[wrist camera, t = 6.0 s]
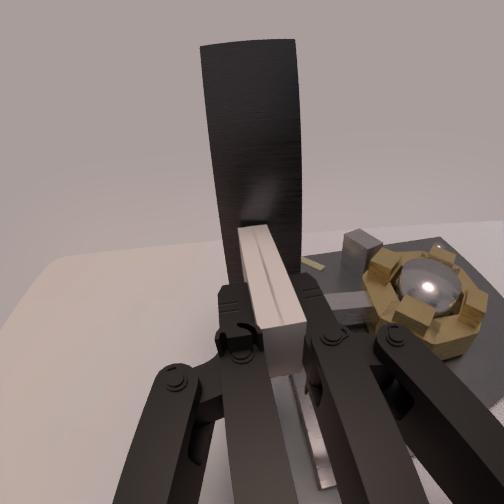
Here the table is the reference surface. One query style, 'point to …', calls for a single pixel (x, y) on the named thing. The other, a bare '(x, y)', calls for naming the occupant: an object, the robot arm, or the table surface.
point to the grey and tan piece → (290, 192)
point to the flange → (410, 283)
